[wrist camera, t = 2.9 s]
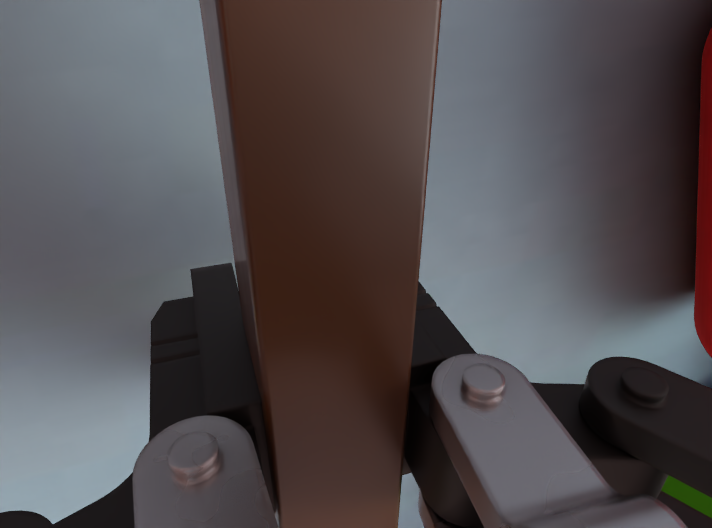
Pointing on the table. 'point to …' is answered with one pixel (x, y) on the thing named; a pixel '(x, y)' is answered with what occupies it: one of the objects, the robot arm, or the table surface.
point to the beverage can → (704, 207)
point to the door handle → (327, 233)
